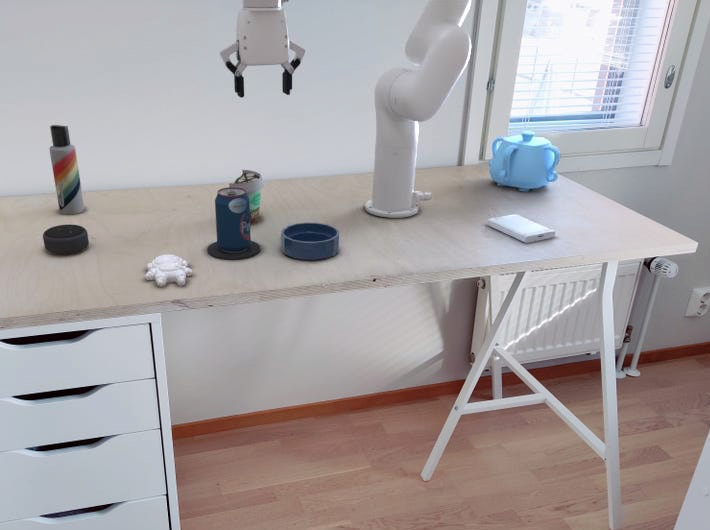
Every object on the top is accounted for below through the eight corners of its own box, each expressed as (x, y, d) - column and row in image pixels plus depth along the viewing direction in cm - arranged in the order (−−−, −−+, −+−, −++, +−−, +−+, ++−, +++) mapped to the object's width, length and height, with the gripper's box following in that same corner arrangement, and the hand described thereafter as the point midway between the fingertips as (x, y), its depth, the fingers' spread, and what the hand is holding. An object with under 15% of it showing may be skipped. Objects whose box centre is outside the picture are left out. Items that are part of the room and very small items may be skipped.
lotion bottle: (54, 213, 168) (39, 126, 158) (69, 206, 172) (56, 121, 162) (74, 216, 166) (61, 128, 156) (89, 208, 171) (76, 123, 161)
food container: (257, 230, 158) (256, 185, 153) (230, 228, 159) (228, 184, 154) (269, 212, 168) (269, 170, 163) (244, 210, 169) (243, 168, 164)
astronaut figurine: (144, 288, 131) (142, 273, 129) (148, 263, 141) (146, 249, 140) (192, 286, 132) (191, 271, 130) (192, 261, 142) (191, 247, 140)
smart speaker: (68, 259, 143) (64, 241, 141) (36, 251, 147) (32, 233, 145) (98, 245, 150) (95, 227, 148) (67, 238, 153) (64, 220, 151)
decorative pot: (490, 192, 182) (498, 138, 175) (485, 174, 196) (492, 124, 189) (556, 195, 180) (566, 141, 173) (546, 177, 193) (556, 126, 186)
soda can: (251, 253, 145) (249, 196, 138) (217, 254, 144) (213, 196, 138) (250, 241, 150) (248, 185, 144) (217, 242, 150) (214, 186, 144)
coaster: (252, 238, 153) (252, 236, 153) (266, 256, 144) (266, 254, 144) (202, 243, 151) (202, 241, 150) (213, 262, 142) (213, 260, 141)
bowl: (327, 237, 154) (327, 220, 152) (346, 257, 144) (347, 238, 142) (274, 243, 151) (274, 225, 149) (291, 264, 141) (291, 245, 139)
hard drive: (487, 218, 159) (526, 236, 150) (516, 213, 162) (555, 230, 153) (486, 226, 160) (525, 243, 151) (515, 220, 163) (554, 237, 154)
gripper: (298, -1, 142) (298, 89, 150) (213, 1, 137) (218, 94, 146) (311, 1, 135) (309, 96, 144) (222, 3, 131) (226, 100, 140)
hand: (263, 95), depth 145 cm, fingers open, 9 cm apart
